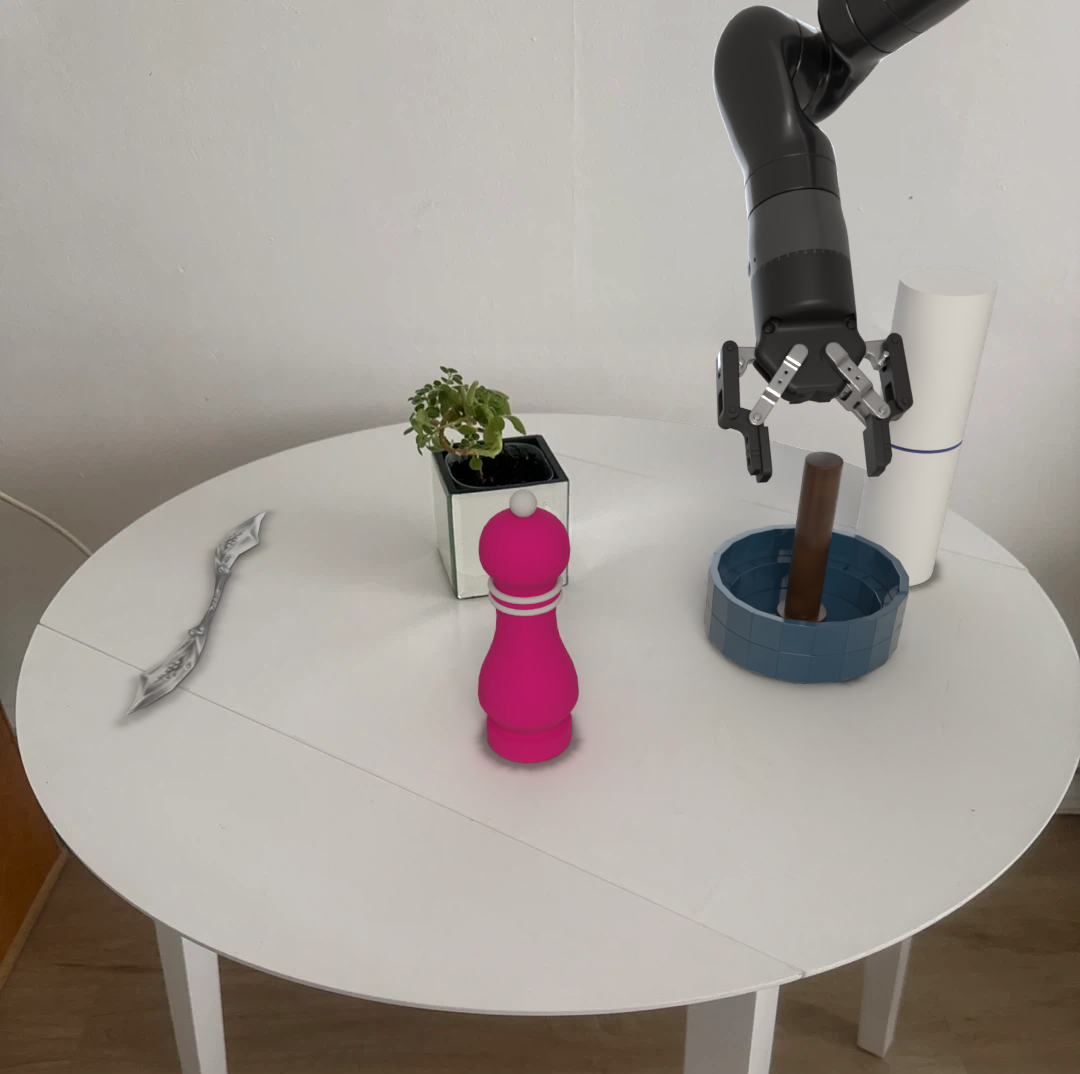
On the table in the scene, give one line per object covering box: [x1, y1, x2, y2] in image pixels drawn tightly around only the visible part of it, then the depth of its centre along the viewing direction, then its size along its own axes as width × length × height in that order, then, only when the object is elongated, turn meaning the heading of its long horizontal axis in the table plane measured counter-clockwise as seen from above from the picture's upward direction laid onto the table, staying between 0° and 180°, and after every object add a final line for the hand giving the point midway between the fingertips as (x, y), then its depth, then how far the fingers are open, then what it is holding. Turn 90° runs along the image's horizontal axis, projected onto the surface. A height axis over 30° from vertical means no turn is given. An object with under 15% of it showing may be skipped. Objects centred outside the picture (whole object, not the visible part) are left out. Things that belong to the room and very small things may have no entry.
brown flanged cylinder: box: [776, 451, 844, 623], centre depth 90 cm, size 4×4×15 cm
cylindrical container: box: [854, 265, 999, 587], centre depth 96 cm, size 7×7×25 cm
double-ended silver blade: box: [125, 510, 267, 715], centre depth 100 cm, size 32×1×5 cm
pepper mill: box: [477, 488, 580, 764], centre depth 79 cm, size 7×7×20 cm
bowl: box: [703, 523, 910, 685], centre depth 93 cm, size 15×15×6 cm
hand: (821, 476), depth 86 cm, fingers open, 8 cm apart
